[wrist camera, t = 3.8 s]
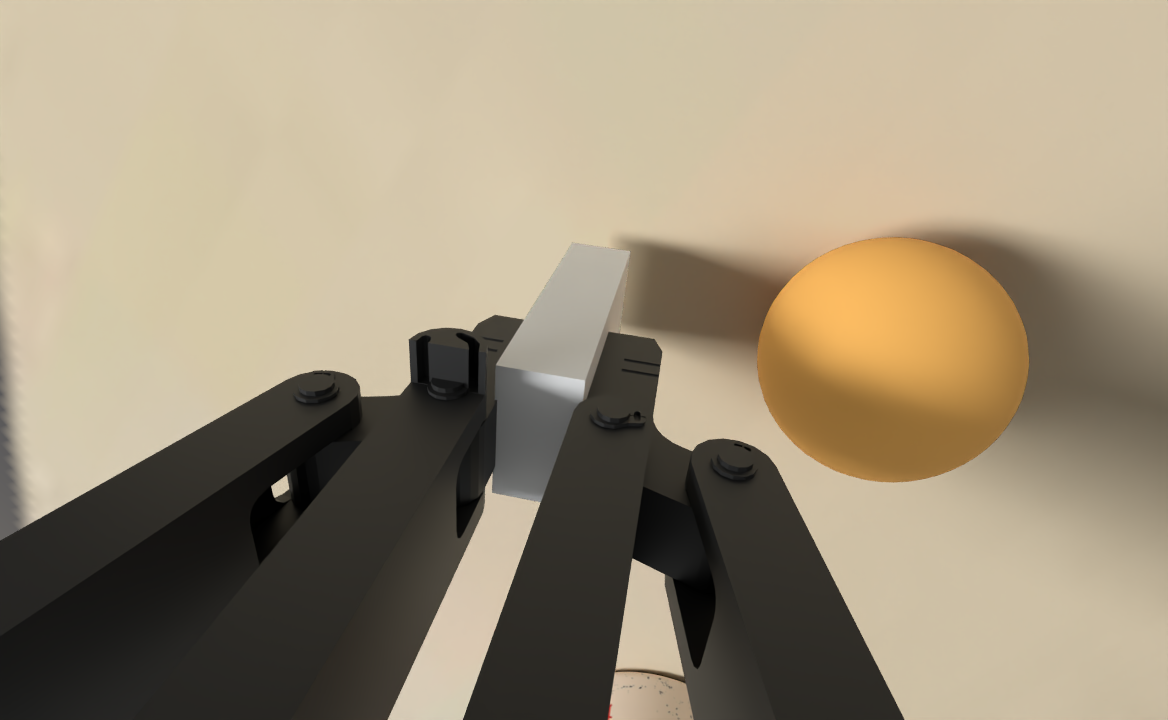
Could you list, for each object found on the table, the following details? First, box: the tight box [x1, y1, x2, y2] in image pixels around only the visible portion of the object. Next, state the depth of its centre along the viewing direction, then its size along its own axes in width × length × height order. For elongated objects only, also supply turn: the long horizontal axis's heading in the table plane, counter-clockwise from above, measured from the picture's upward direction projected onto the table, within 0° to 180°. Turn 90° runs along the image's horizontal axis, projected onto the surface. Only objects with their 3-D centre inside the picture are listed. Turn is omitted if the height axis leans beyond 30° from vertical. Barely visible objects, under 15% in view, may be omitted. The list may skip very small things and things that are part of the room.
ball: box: [757, 237, 1029, 482], centre depth 14 cm, size 6×6×6 cm
